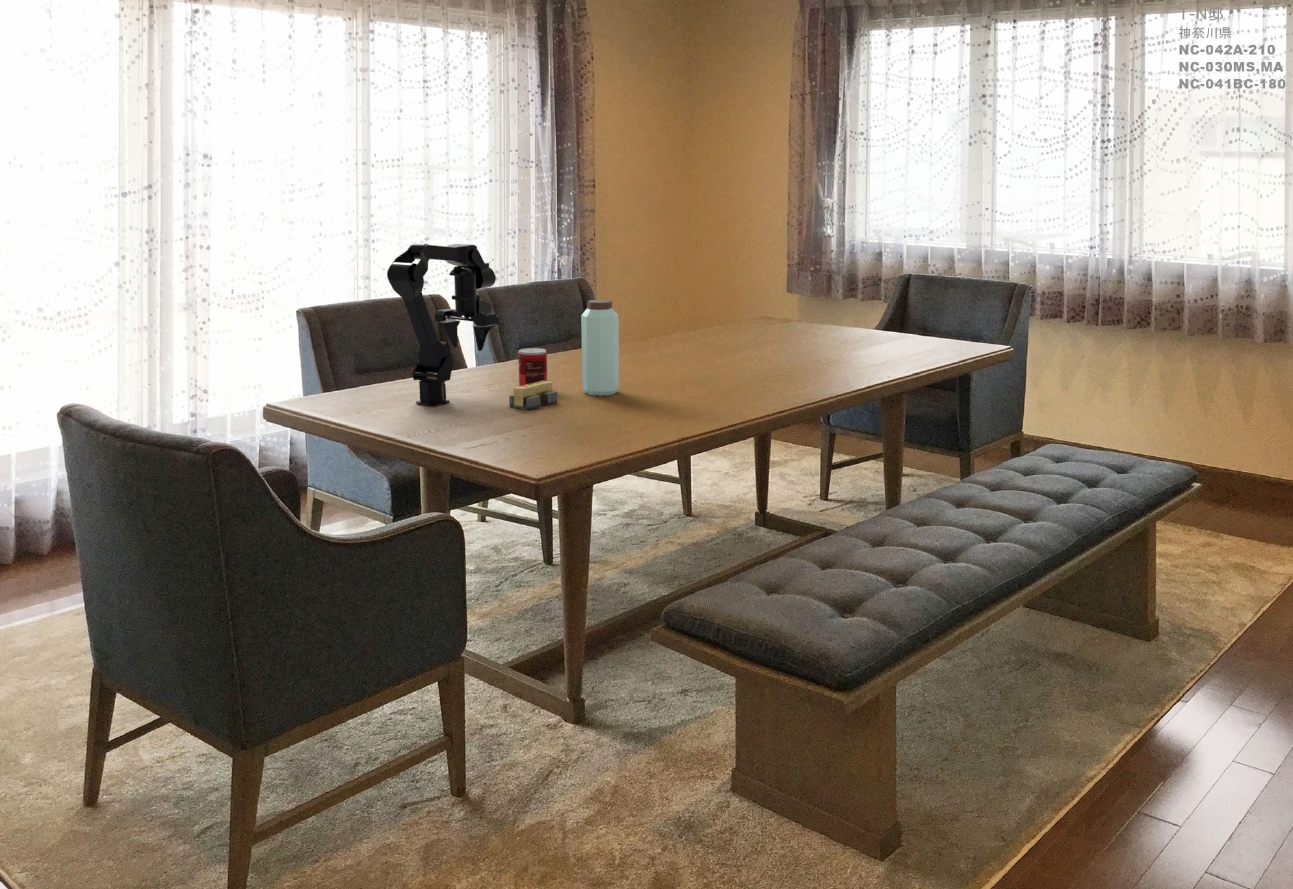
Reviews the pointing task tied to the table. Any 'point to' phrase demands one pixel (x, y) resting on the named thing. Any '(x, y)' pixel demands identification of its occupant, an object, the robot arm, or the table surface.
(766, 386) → the table surface
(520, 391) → the tan rectangular block
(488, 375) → the table surface
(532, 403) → the bracket
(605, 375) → the water bottle
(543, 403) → the far chain end
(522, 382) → the canned food
